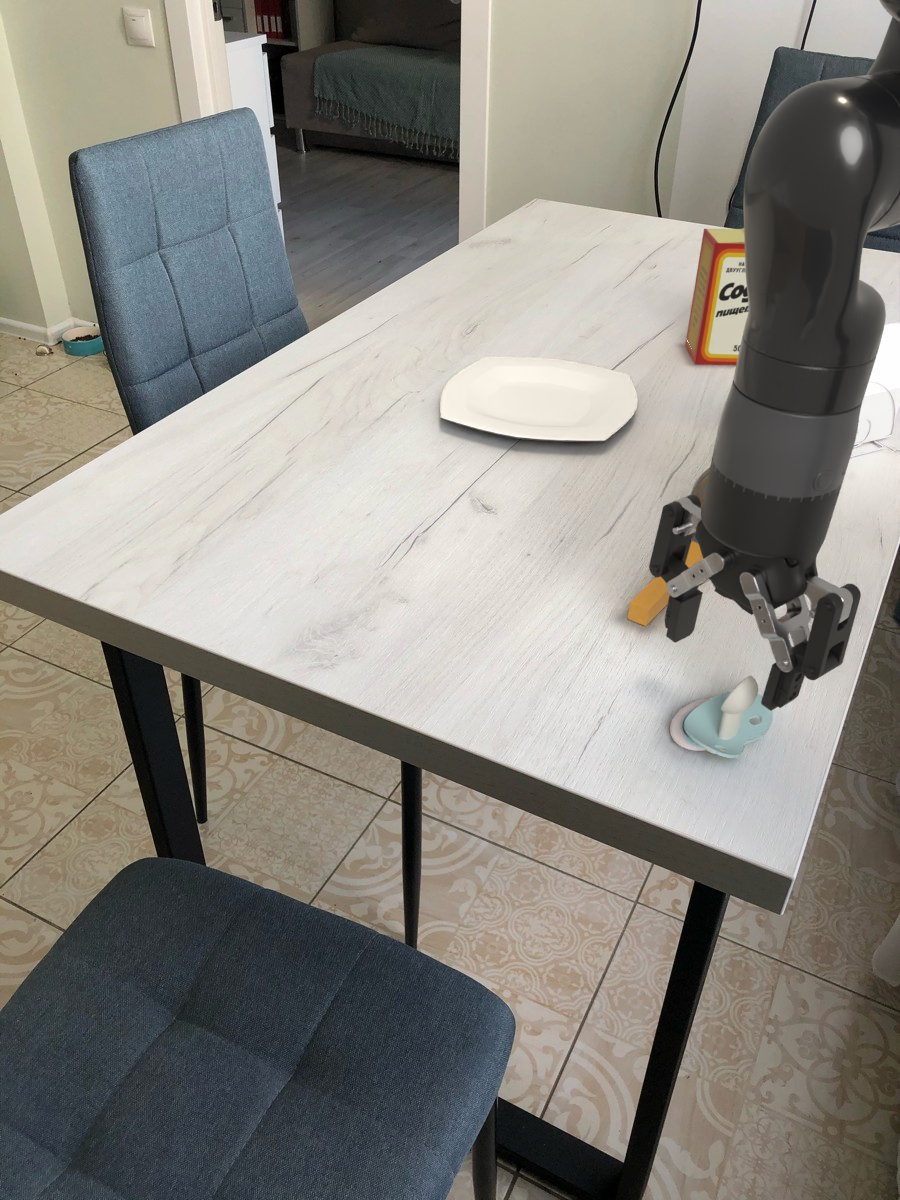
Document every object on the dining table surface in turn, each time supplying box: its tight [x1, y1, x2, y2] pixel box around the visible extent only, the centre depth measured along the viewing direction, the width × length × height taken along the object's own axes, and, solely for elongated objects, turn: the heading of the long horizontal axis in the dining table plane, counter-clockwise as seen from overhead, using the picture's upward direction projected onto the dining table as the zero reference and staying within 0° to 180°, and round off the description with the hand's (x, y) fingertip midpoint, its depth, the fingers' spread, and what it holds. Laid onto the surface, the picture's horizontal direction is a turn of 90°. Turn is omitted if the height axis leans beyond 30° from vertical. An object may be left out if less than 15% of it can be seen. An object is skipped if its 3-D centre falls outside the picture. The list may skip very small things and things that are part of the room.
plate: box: [439, 356, 639, 443], centre depth 112 cm, size 23×23×2 cm
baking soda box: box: [684, 227, 748, 366], centre depth 123 cm, size 10×6×16 cm
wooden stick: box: [627, 541, 703, 627], centre depth 82 cm, size 12×2×2 cm, turn 143°
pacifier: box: [669, 675, 774, 759], centre depth 67 cm, size 7×6×6 cm
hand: (724, 668), depth 65 cm, fingers open, 8 cm apart
